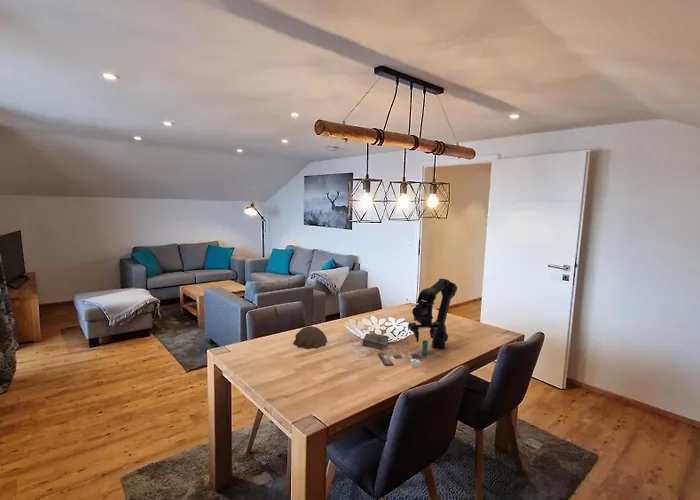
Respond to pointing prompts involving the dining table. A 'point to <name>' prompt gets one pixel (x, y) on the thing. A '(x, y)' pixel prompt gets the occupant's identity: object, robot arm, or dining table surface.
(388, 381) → the dining table surface
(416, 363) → the die
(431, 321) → the robot arm
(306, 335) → the decorative dome
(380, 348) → the marble piece
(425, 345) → the pawn
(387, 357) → the board
